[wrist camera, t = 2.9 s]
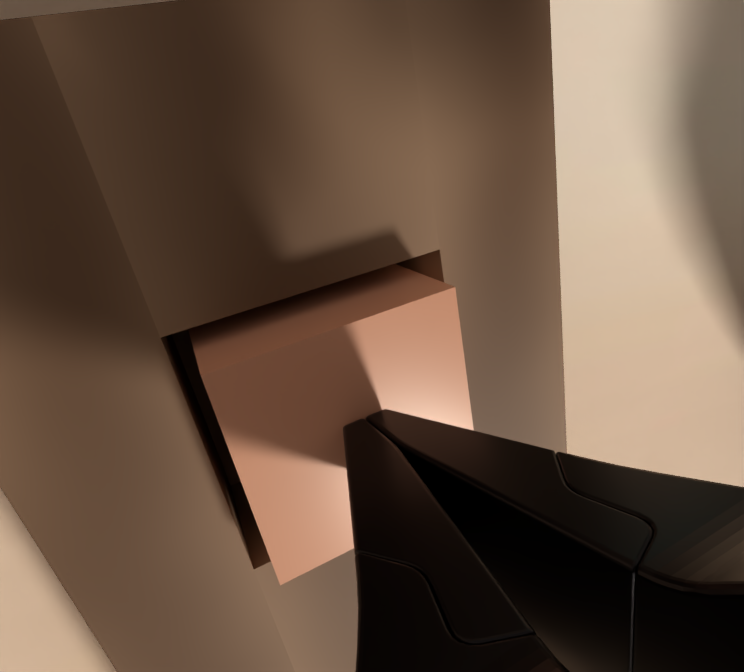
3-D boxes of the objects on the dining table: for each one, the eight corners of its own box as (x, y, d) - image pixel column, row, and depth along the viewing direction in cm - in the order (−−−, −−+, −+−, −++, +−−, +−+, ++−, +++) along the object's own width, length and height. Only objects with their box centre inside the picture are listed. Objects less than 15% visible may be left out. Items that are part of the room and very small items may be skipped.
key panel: (441, 14, 12) (548, -41, 8) (518, 688, 22) (579, 771, 19) (-120, 94, 8) (-277, 50, 5) (285, 846, 18) (312, 979, 15)
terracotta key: (382, 258, 11) (455, 286, 8) (412, 420, 13) (480, 484, 10) (185, 319, 10) (201, 375, 7) (249, 490, 11) (280, 585, 9)
